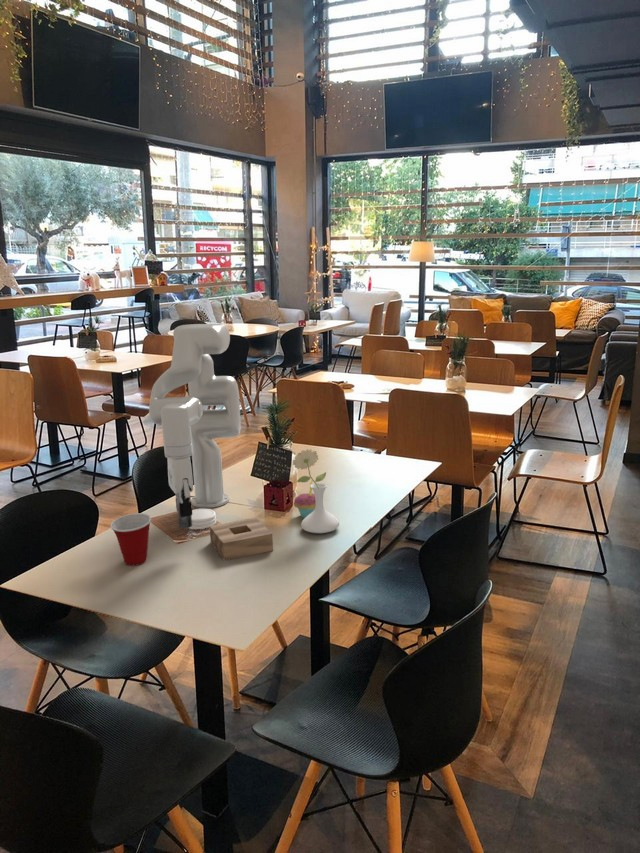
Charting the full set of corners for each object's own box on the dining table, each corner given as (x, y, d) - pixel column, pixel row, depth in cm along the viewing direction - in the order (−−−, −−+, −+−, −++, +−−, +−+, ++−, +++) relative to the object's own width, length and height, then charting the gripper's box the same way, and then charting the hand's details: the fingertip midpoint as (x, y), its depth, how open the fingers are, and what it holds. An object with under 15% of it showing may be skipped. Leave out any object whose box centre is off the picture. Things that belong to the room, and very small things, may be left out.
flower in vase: (338, 521, 214) (335, 442, 208) (340, 536, 203) (338, 453, 197) (295, 523, 214) (292, 444, 208) (295, 538, 203) (291, 455, 197)
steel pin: (177, 524, 194) (173, 483, 191) (190, 522, 195) (186, 481, 192) (180, 529, 191) (176, 487, 188) (193, 526, 192) (189, 485, 189)
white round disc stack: (199, 532, 210) (198, 521, 209) (177, 526, 216) (176, 515, 215) (223, 522, 217) (222, 511, 216) (201, 516, 223) (200, 505, 222)
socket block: (210, 542, 202) (209, 526, 201) (256, 533, 207) (255, 517, 206) (224, 560, 189) (223, 543, 188) (273, 550, 195) (272, 533, 193)
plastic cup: (105, 564, 189) (101, 523, 186) (136, 550, 198) (132, 510, 195) (133, 573, 183) (128, 530, 180) (163, 558, 192) (159, 517, 189)
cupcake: (326, 513, 221) (325, 477, 218) (311, 522, 214) (310, 485, 211) (304, 509, 226) (303, 473, 223) (289, 517, 219) (287, 481, 216)
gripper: (158, 443, 193) (164, 505, 198) (171, 460, 179) (177, 526, 183) (185, 439, 196) (190, 501, 201) (200, 455, 181) (205, 521, 186)
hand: (184, 512), depth 192 cm, fingers closed on steel pin, 3 cm apart
